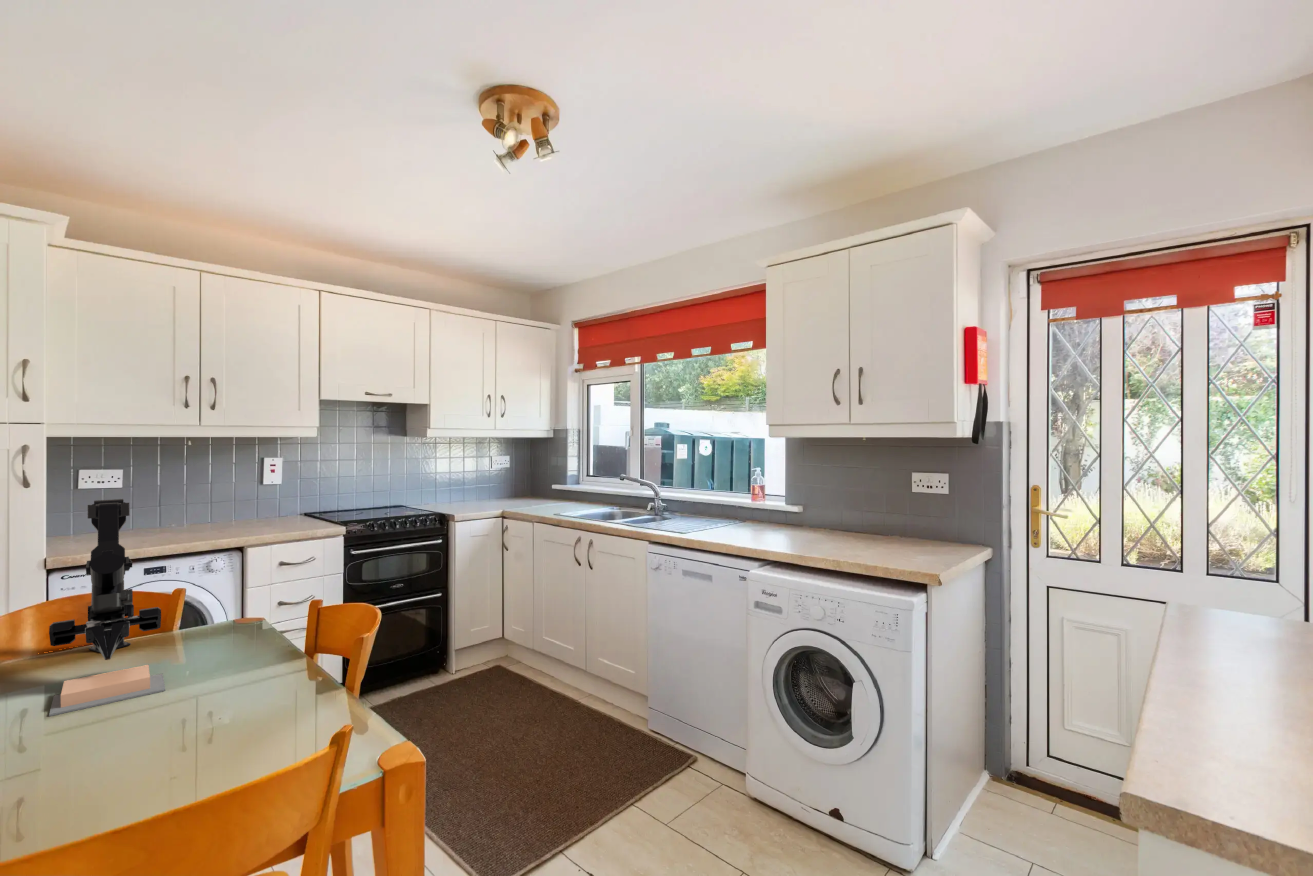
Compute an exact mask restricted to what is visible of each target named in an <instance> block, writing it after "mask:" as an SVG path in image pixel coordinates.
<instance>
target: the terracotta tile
mask: <svg viewBox="0 0 1313 876" xmlns="http://www.w3.org/2000/svg"><path fill="white" fill-rule="evenodd" d="M150 676H151V674H150V666H149V664H145V665H139V666H134V667H130V668H125V669H119V670H114V671H108V672H104V673H99V674H93V675H88V676H83V677H78V678H71V679H68V680H64V681H63V684H62V689H61V693H60V694H61V708H62V707H66V706H71V705H75V704H80V703H85V702H89V701H94V700H99V699H103V698H108V697H113V696H117V695H122V694H127V693H131V692H136V691H141V690H145V689H150Z"/></svg>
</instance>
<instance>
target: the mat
mask: <svg viewBox="0 0 1313 876" xmlns="http://www.w3.org/2000/svg"><path fill="white" fill-rule="evenodd" d="M163 674H164V673H157V674H153V675H150V689H145V690H141V691H136V692H131V693H127V694H122V695H117V696H113V697H108V698H103V699H99V700H94V701H89V702H85V703H80V704H75V705H71V706H66V707H62V708H61V693H60V694H55V695H53V698H52V702H51V705H50V709H49V713H48V717H53V716H59V715H62V714H67V713H72V712H75V711H76V712H77V711H80V710H86V709H89V708H95V707H99V706H102V705H108V704H112V703H116V702H121V701H126V700H129V699H130V700H131V699H134V698H139V697H144V696H148V695H153V694H158V693H161V692H166V685H165V679H164V675H163Z"/></svg>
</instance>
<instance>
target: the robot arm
mask: <svg viewBox="0 0 1313 876" xmlns="http://www.w3.org/2000/svg"><path fill="white" fill-rule="evenodd" d="M128 516H131V515H130V502H125V501H124V498H118V499H116V498H112V499H97V500H96V499H95V500H93V503H91V504H87V519H91V525H92V526H93V527H94V529H95V530H96V532H97V546H95V547H94V548H93V549H92V550H91V551H90V560H86V564H85V565H86V566H85V576H90V583H91V598H90V599H91V601H90V603H91V604H90V605H88V606H87V621H86V622H85V623H84V624H77V625H76V621H75V619H68V620H61V621H55V622H52V623H51V624H50V625H49V626H48V627H49V628H48V635H49V636H48V637H49V643H50V644H49V645H50V646H52V647H58V646H63V645H69V644H71V643H73V642H74V641H76V636H78V635H84V634H85V643H86V644H92V645H93V646H95V647H93V646H90V647H91V648H89V647H88V650H89V651H93V652H97V653H100V654H101V656H102V657H103V659H104V660H105V661H110V660H111V659H112V657H113V656H114V655H113V654H114V653H115V651H116V649H120V648H125V647H127V646H131V642H127V641H125V638H128V637H129V636H130V627H132V626H137V625H138V630H140V631H142V632H147V631H153V630H154V631H155V630H159V629H161V628H162V627H161V626H162V609H161V608H160V607H159V606H157V607H156V606H155V607H149V608H141V609H139V612H138V615H134V613H135V612H134V610H135V605H134V604H133V601H134V600H133V597H134V596H133V588H130V589H125V575H126V572H129V571H130V570H131V569H132V568H133V561H132V560H131V559H130V557H129V556H126V548H125V547H124V546H123V545H122V544H120V531H121V530H122V529H123V527H124V525H126V523H127V517H128Z"/></svg>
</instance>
